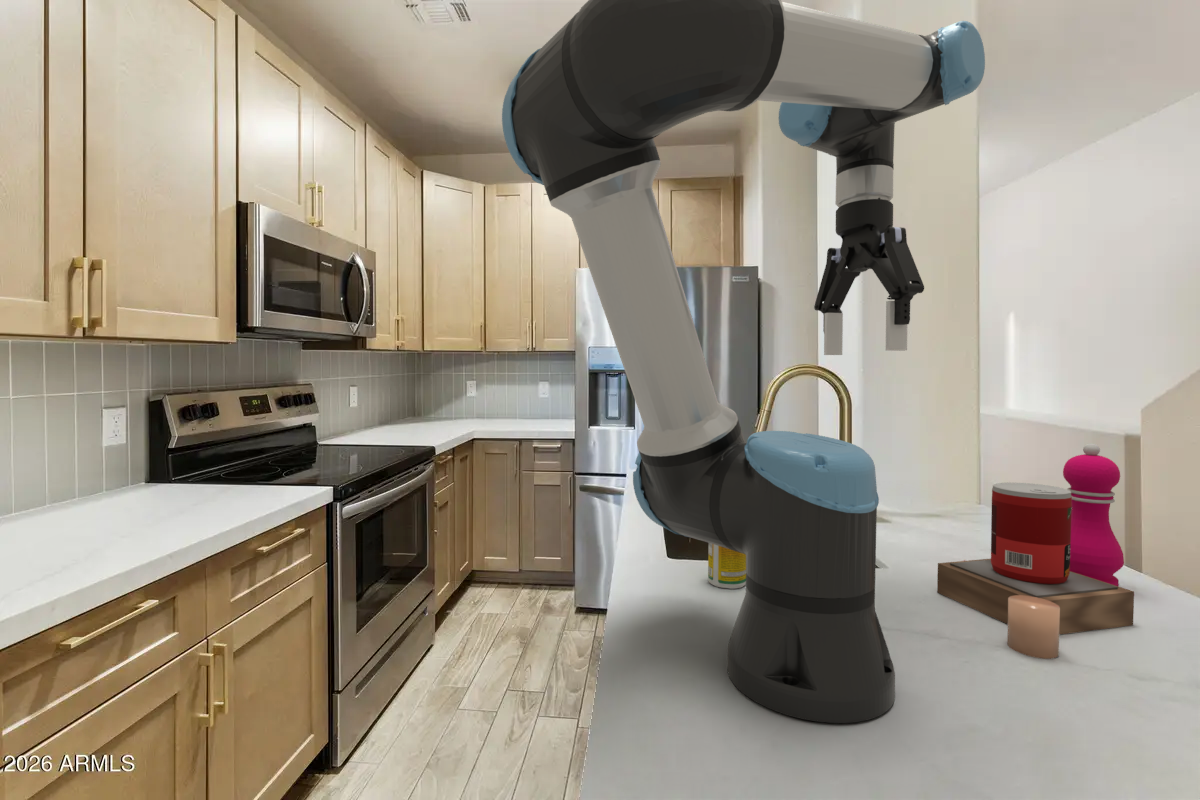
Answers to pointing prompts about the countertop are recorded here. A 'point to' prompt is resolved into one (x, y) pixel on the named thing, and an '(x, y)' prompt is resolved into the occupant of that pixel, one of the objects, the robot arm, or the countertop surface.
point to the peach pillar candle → (1033, 626)
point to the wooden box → (1038, 595)
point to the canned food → (1031, 532)
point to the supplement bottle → (726, 567)
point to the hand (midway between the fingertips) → (862, 353)
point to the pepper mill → (1093, 515)
